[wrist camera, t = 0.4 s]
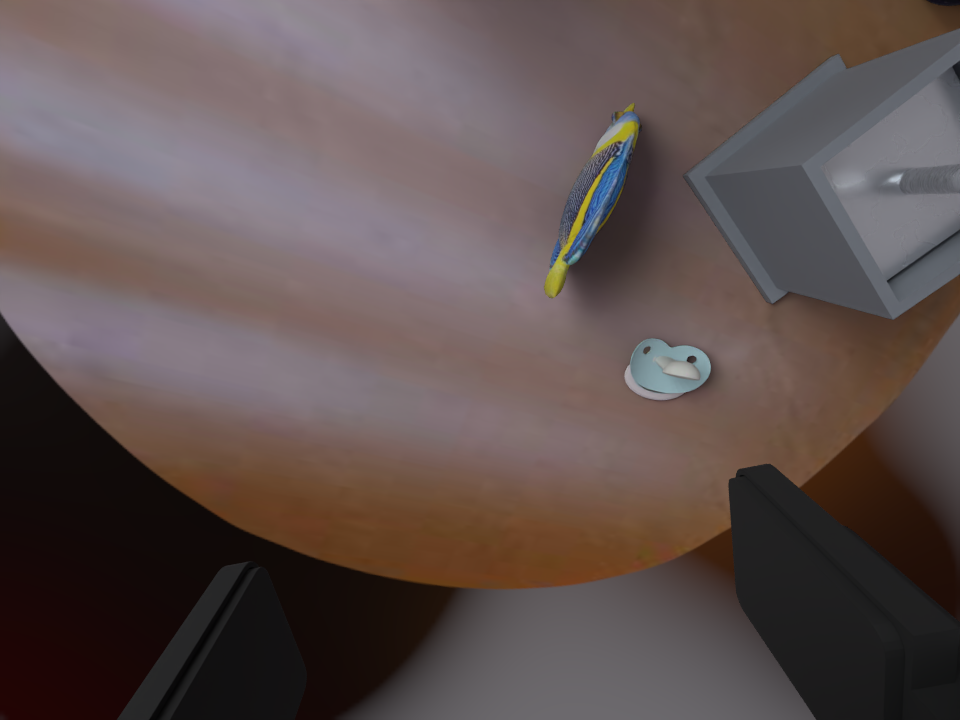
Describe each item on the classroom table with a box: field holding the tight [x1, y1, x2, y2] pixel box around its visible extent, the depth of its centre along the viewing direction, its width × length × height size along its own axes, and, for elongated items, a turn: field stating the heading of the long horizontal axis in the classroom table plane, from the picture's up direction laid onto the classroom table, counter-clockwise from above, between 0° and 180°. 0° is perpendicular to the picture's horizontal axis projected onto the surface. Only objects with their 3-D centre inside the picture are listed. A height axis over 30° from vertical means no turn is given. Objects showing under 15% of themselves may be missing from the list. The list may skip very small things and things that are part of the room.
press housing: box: [683, 28, 960, 320], centre depth 37 cm, size 14×14×14 cm
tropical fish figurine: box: [544, 103, 642, 298], centre depth 39 cm, size 16×3×10 cm, turn 155°
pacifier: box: [624, 338, 711, 400], centre depth 45 cm, size 7×6×6 cm
